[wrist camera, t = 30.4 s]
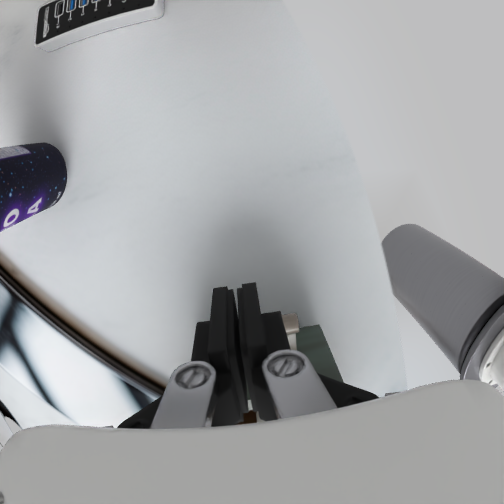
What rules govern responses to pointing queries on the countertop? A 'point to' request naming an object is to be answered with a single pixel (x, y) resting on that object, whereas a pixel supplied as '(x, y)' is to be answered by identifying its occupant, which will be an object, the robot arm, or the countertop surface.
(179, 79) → the countertop surface
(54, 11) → the multiport hub
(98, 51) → the countertop surface
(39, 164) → the beverage can
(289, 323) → the drawer
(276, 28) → the countertop surface
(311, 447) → the robot arm
